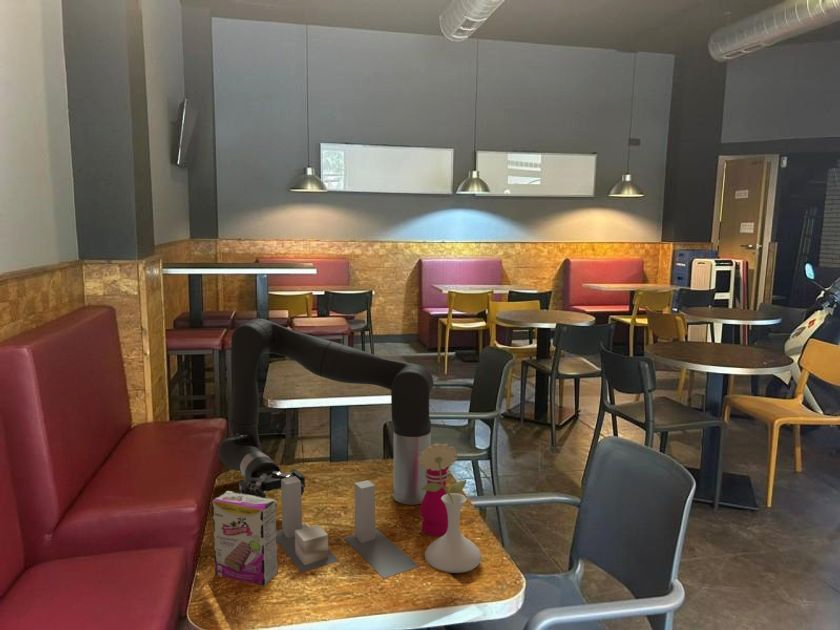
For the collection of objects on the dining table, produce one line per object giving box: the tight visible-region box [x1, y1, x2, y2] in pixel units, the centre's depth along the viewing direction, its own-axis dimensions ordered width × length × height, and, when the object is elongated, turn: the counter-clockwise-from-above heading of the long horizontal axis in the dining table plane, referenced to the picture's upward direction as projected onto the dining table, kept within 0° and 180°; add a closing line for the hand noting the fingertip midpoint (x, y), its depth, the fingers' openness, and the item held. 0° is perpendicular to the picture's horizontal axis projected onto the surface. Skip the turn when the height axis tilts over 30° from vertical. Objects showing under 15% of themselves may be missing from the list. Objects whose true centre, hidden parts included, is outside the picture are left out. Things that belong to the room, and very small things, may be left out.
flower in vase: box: [418, 443, 482, 574], centre depth 123 cm, size 13×11×25 cm
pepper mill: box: [419, 443, 450, 537], centre depth 137 cm, size 7×7×20 cm
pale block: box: [295, 524, 329, 565], centre depth 124 cm, size 5×5×5 cm
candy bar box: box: [212, 490, 279, 586], centre depth 117 cm, size 11×5×16 cm, turn 71°
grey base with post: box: [342, 479, 420, 579], centre depth 125 cm, size 8×18×13 cm, turn 32°
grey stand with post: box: [277, 476, 340, 573], centre depth 127 cm, size 8×18×13 cm, turn 32°
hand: (283, 495), depth 137 cm, fingers open, 8 cm apart
